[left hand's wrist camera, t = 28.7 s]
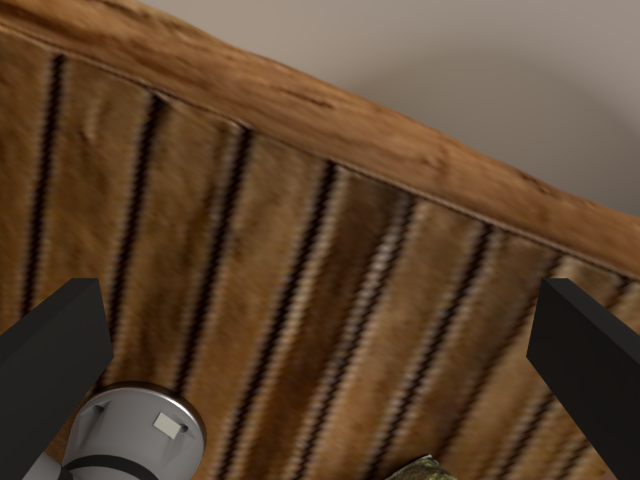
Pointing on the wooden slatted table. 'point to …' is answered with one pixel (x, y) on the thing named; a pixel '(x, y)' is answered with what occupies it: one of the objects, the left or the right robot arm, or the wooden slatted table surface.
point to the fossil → (422, 471)
